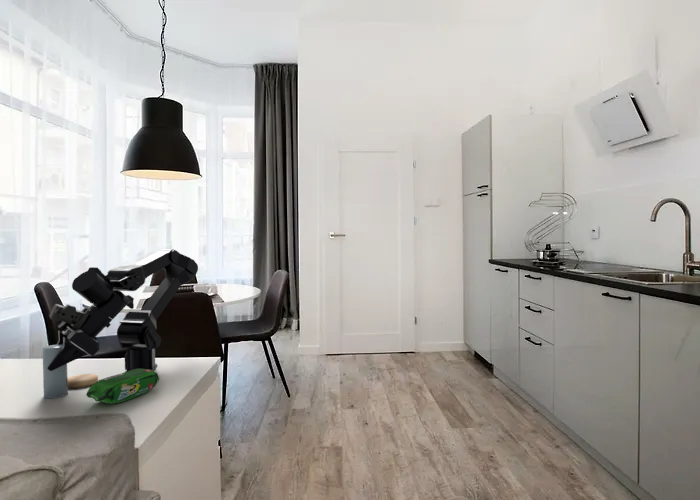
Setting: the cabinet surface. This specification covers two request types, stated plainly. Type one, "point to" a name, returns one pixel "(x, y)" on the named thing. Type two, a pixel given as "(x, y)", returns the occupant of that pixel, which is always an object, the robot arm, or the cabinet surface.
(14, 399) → the cabinet surface
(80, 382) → the tan round disc
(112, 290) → the robot arm
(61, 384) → the grey rounded cylinder
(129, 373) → the snack package
